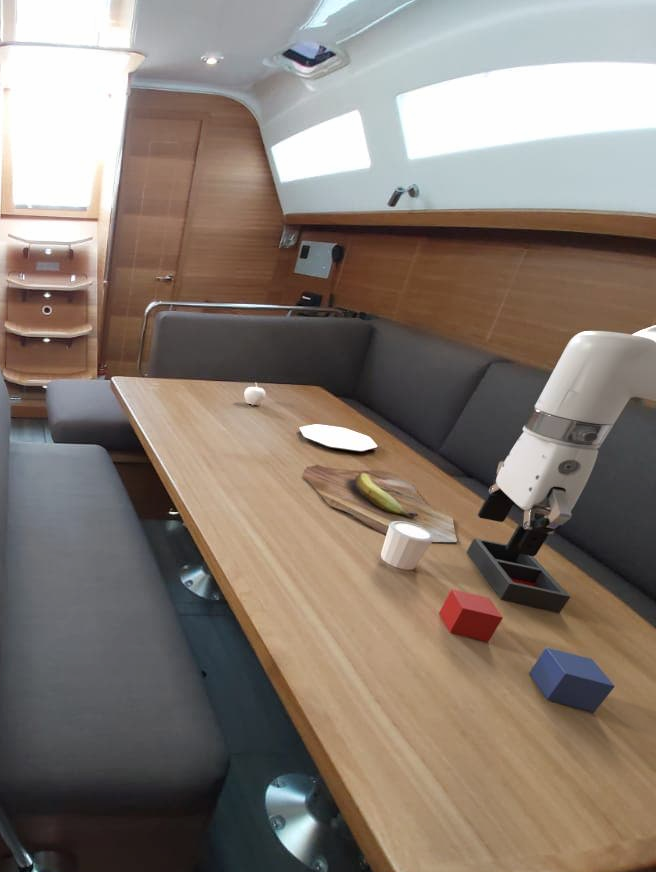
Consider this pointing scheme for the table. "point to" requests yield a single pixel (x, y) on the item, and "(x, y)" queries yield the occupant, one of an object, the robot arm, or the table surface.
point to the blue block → (571, 680)
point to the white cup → (405, 544)
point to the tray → (517, 576)
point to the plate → (338, 437)
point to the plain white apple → (254, 395)
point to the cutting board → (379, 500)
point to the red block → (470, 615)
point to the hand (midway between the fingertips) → (503, 535)
